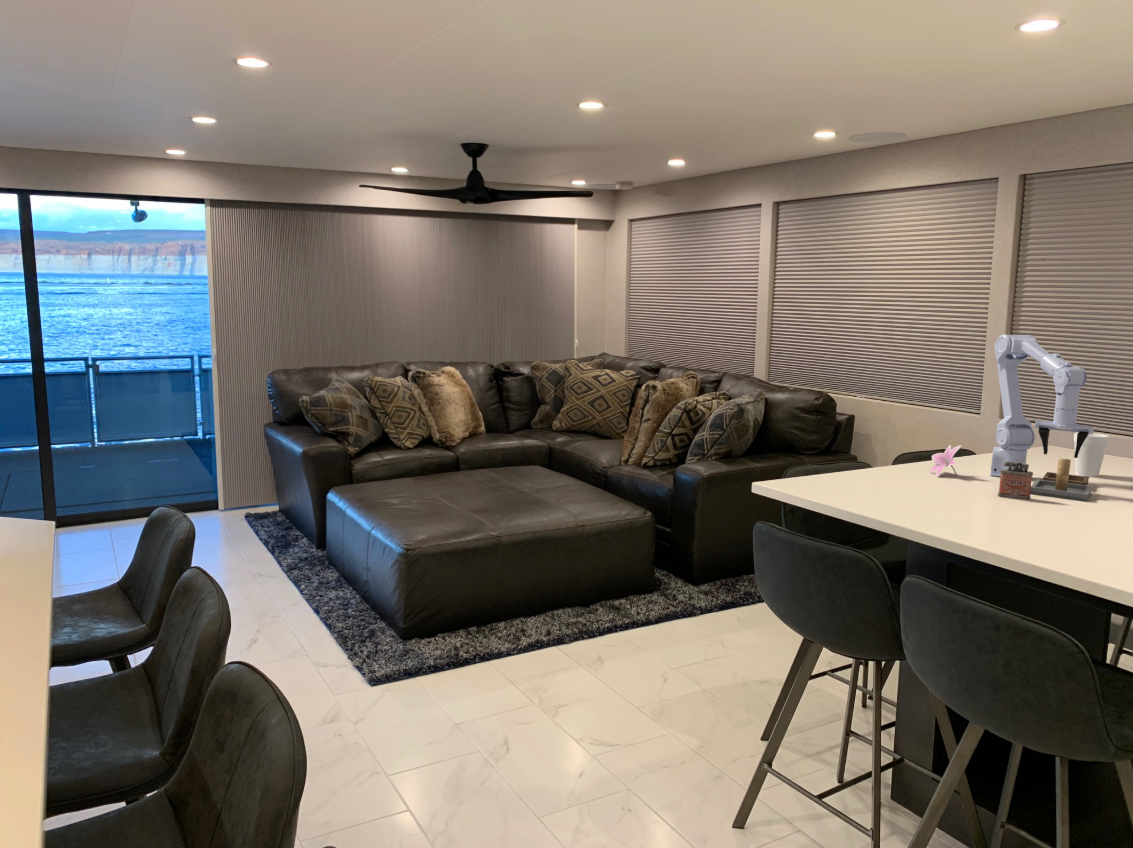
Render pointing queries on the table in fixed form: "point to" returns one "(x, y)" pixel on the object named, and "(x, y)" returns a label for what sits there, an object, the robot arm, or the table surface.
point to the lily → (944, 460)
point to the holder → (1072, 478)
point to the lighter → (1015, 481)
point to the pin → (1062, 474)
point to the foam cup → (1090, 454)
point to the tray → (1072, 490)
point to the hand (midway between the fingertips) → (1060, 455)
